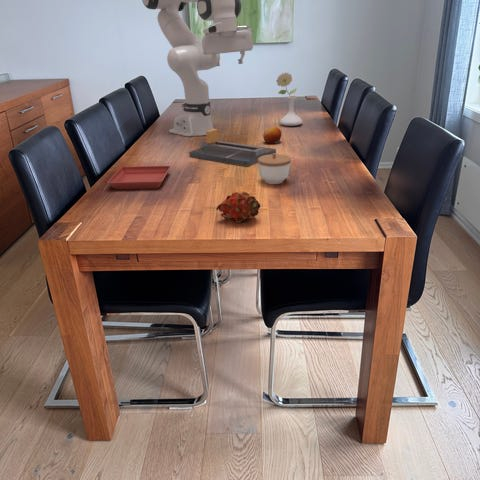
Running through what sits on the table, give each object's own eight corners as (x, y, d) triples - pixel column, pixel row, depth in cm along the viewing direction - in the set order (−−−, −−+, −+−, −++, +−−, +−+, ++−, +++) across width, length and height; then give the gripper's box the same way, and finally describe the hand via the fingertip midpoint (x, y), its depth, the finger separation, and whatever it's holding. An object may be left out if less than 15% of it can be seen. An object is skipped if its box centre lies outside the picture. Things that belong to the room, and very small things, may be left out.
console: (189, 156, 187) (188, 146, 185) (220, 145, 202) (219, 136, 200) (247, 166, 172) (247, 156, 170) (275, 153, 187) (275, 144, 185)
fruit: (284, 141, 198) (275, 125, 196) (268, 151, 201) (259, 134, 199) (286, 137, 205) (277, 121, 203) (271, 146, 208) (262, 130, 206)
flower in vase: (302, 122, 239) (303, 70, 228) (302, 127, 228) (304, 73, 218) (276, 122, 240) (276, 71, 229) (275, 127, 230) (275, 74, 219)
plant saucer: (122, 175, 170) (121, 166, 168) (171, 174, 169) (171, 165, 167) (108, 192, 153) (106, 182, 152) (163, 191, 153) (161, 181, 151)
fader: (206, 148, 190) (205, 131, 187) (214, 145, 194) (213, 128, 191) (210, 148, 189) (209, 131, 186) (218, 145, 193) (217, 129, 190)
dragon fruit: (264, 226, 127) (221, 232, 129) (262, 200, 131) (220, 206, 133) (259, 210, 120) (213, 216, 122) (257, 182, 124) (213, 189, 126)
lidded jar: (281, 188, 150) (281, 159, 146) (252, 183, 155) (251, 155, 151) (295, 178, 158) (296, 151, 154) (267, 174, 163) (267, 147, 159)
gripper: (249, 25, 188) (252, 62, 193) (199, 30, 185) (203, 67, 190) (253, 24, 182) (256, 62, 187) (201, 29, 179) (205, 67, 184)
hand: (229, 65), depth 189 cm, fingers open, 8 cm apart
